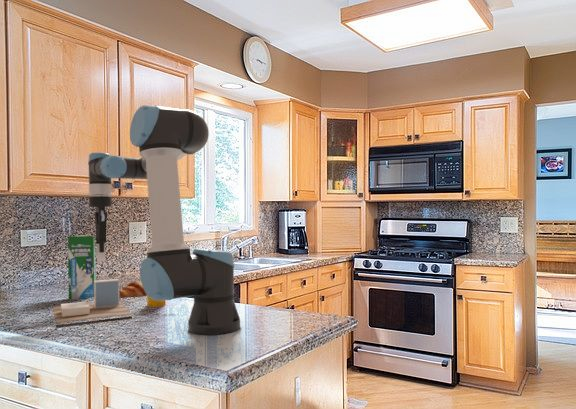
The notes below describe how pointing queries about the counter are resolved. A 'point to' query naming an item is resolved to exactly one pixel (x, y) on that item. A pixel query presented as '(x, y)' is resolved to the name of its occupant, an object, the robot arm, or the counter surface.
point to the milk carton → (81, 266)
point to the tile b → (106, 293)
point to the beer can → (155, 302)
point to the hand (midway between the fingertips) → (101, 261)
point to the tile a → (75, 309)
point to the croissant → (132, 290)
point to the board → (93, 315)
